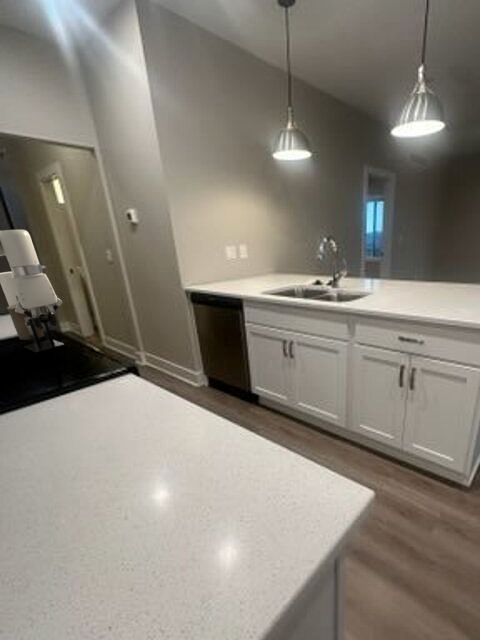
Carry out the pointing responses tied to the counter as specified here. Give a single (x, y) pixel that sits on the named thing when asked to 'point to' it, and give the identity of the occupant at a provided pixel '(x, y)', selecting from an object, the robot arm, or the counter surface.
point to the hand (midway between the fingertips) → (47, 326)
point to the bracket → (37, 344)
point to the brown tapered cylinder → (23, 323)
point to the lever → (43, 318)
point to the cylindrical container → (8, 287)
